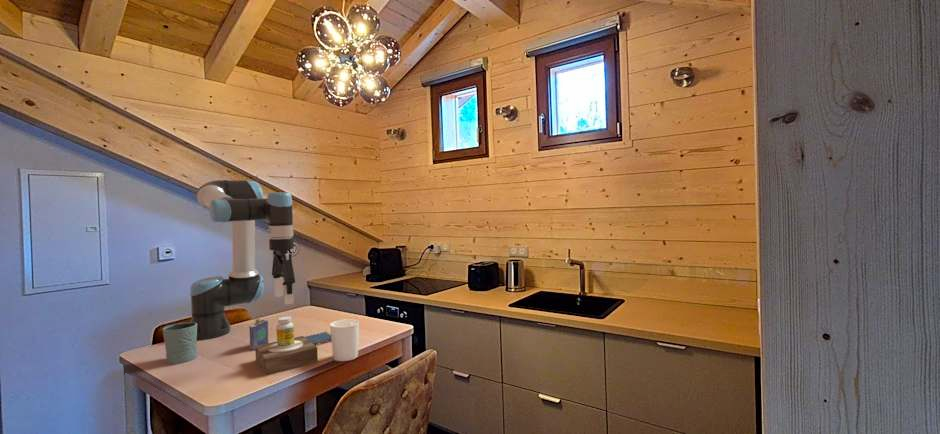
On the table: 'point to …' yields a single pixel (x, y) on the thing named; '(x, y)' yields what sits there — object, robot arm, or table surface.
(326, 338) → the woven mat
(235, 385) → the table surface
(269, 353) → the walnut plinth
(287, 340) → the supplement bottle
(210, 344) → the table surface
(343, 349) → the candle holder
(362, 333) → the table surface
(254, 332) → the flask
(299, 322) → the table surface
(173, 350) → the green cylinder
